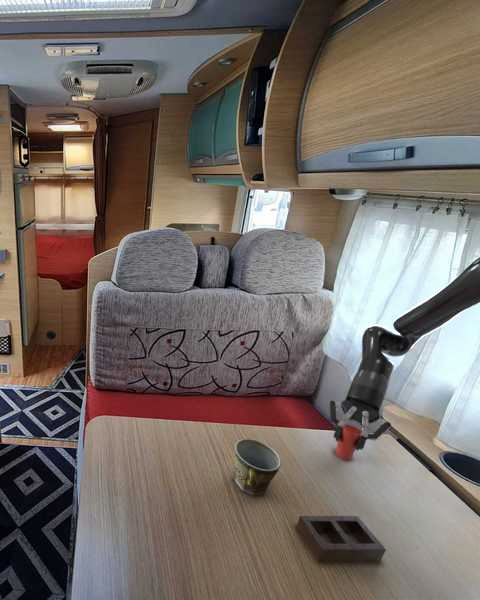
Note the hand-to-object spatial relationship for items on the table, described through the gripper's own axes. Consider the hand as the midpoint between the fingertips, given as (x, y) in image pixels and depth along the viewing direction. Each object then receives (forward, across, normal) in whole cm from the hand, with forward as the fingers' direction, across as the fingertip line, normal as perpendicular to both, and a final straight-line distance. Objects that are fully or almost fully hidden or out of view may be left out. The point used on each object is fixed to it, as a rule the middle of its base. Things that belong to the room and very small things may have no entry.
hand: (347, 444), depth 89 cm
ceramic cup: (+24, -14, -17) cm, 33 cm away
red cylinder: (+2, 0, +5) cm, 5 cm away
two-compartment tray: (+24, +4, -17) cm, 30 cm away
